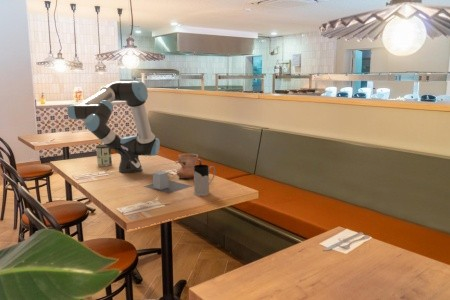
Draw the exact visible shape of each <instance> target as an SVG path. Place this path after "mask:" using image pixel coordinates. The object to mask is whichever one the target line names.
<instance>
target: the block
mask: <svg viewBox="0 0 450 300" xmlns="http://www.w3.org/2000/svg"><path fill="white" fill-rule="evenodd" d="M168 180H169V172H168V171H163V170H159V171H155V172H154V171H153V172H152V184H153V188H155V189H159V190H162V189H165V188H168V187H169V182H168Z"/></svg>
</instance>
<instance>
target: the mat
mask: <svg viewBox="0 0 450 300" xmlns="http://www.w3.org/2000/svg"><path fill="white" fill-rule="evenodd" d="M168 182H169V187H168V188H165V189H162V190H159V189H155V188H153V183H151V184H147V185H144V186H143V187H145V188H148V189H152V190H154V191H158V192H160V193H161V192H162V193H165V194H172V193H175V192H179V191H182V190H185V189H188V188H191V187H193V185H189V184H185V183H182V182H177V181H174V180H169V179H168Z"/></svg>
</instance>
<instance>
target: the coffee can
mask: <svg viewBox="0 0 450 300" xmlns="http://www.w3.org/2000/svg"><path fill="white" fill-rule="evenodd" d="M95 148H96V149H95V150H96V161H97V166H98V167H107V166H111V165H112V164H113V162H112V161H113V160H112V149H109V148H108V147H107V146H106V145H105V144H104V143H103V144H98V145H95Z"/></svg>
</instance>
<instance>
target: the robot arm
mask: <svg viewBox="0 0 450 300" xmlns="http://www.w3.org/2000/svg"><path fill="white" fill-rule="evenodd" d="M148 93H149V92H148V88H147V86H146V84H145V83H144V82H143V81H139V80H138V81H137V80H132V81H131V80H130V81H129V80H128V81H127V80H126V81H125V80H124V81H123V80H122V81H114V82H112V83H109V84H107V85H105V86H102V88H100V89H99V91H97V93H95V94H94V95H91V96H90V97H88V98H87V99H85V100H83V101H82V102H80V103H78V104H76V103H75V104H70V105H68V107H67V109H66V110H67V111H66V113H67V117H68V118H69V119H71V120H76V121H78V120H81V121H83V120H84V121H83V125H84V127H85V128H86V129H87V130H88V131H89V132H90V133H92V135H94V136H95V137H96V138H97V139H99V140H100V143H103V145H104V144H105V145H106V146H107V147H108V148H109V149H111V150H113V151H114V152H116V153H117V154H119V155H120V161H119V167H118V172H120V173H125V174H126V173H127V174H128V173H130V174H131V173H137V172H141V171H142V170H143V168H142V163H141V161H140V159H139V156H149V157H152V156H153V157H154V156H157V155H158V153H159V152H160V146H161V140H160V138H157V137H156V135H155V134H154V132H152V129H151V125H150V124H151V123H150V121H149V117H148V114H147V110H146V106H145V104H146V102H147V99H148V95H149V94H148ZM112 102H126V105H127V106H128V107H130V111H131V114H132V117H133V121H134V125H135V127H136V131H137V135H129V136H125V137H120V136H119V135H118V134H116V132H115V131H114V130H113V129H112V128H111V127H109V125H108V123H109V120H110V117H111V116H112V114H113V110H114V105H113V104H112Z"/></svg>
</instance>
